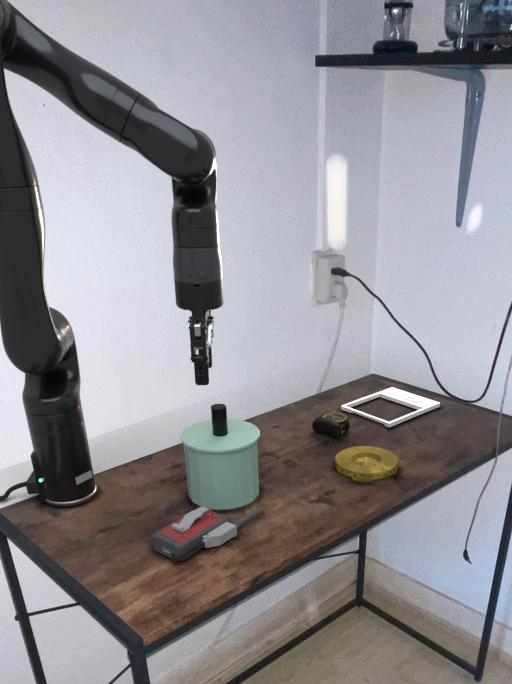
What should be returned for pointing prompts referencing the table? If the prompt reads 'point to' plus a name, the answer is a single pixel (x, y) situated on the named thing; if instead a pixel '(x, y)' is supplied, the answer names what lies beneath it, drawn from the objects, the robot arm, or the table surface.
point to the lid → (220, 433)
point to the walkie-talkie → (197, 533)
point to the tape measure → (331, 424)
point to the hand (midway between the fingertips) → (204, 375)
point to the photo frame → (398, 397)
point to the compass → (366, 463)
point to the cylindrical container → (222, 477)
